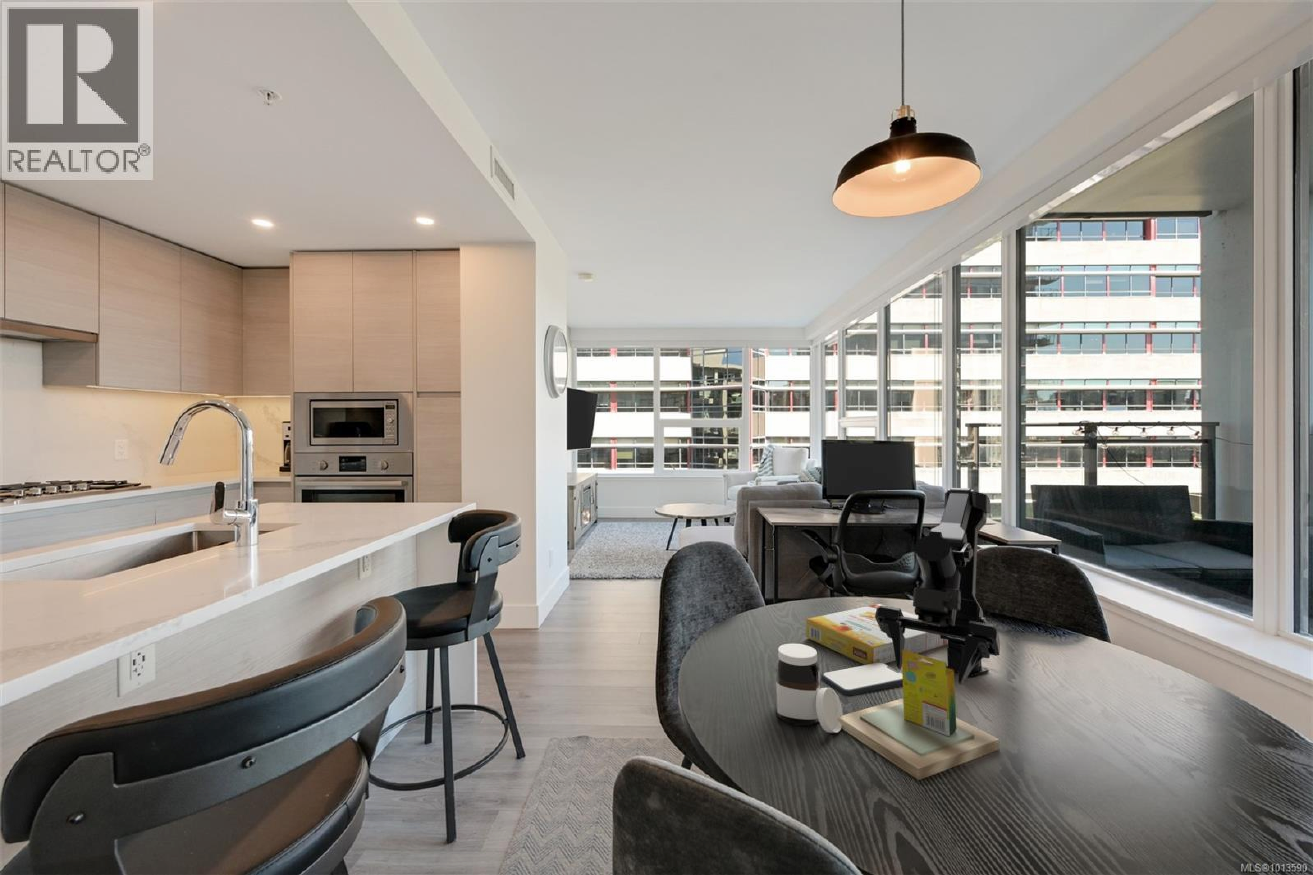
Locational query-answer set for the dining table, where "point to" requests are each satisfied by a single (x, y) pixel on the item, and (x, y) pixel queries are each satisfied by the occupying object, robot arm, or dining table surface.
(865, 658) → the cereal box
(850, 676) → the smartphone
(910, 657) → the crayon box
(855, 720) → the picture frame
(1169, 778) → the dining table surface
